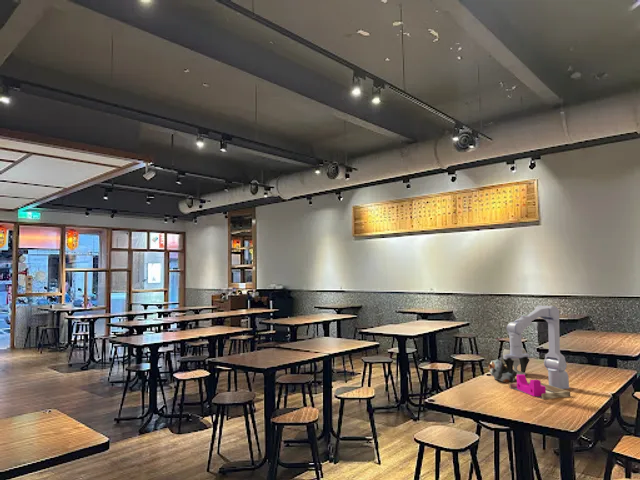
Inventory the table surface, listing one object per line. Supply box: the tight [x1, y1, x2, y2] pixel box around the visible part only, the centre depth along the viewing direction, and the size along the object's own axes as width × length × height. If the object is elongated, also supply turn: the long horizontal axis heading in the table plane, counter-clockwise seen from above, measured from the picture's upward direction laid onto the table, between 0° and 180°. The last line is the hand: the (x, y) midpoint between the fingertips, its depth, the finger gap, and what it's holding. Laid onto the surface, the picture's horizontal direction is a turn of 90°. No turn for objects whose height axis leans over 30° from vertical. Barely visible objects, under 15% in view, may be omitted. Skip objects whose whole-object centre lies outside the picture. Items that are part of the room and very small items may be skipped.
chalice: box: [502, 347, 528, 376], centre depth 275 cm, size 14×14×15 cm
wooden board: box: [508, 381, 571, 400], centre depth 231 cm, size 16×24×2 cm
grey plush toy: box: [488, 358, 517, 384], centre depth 258 cm, size 15×12×14 cm
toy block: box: [516, 374, 546, 397], centre depth 230 cm, size 15×6×8 cm, turn 8°
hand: (517, 372), depth 228 cm, fingers open, 7 cm apart
